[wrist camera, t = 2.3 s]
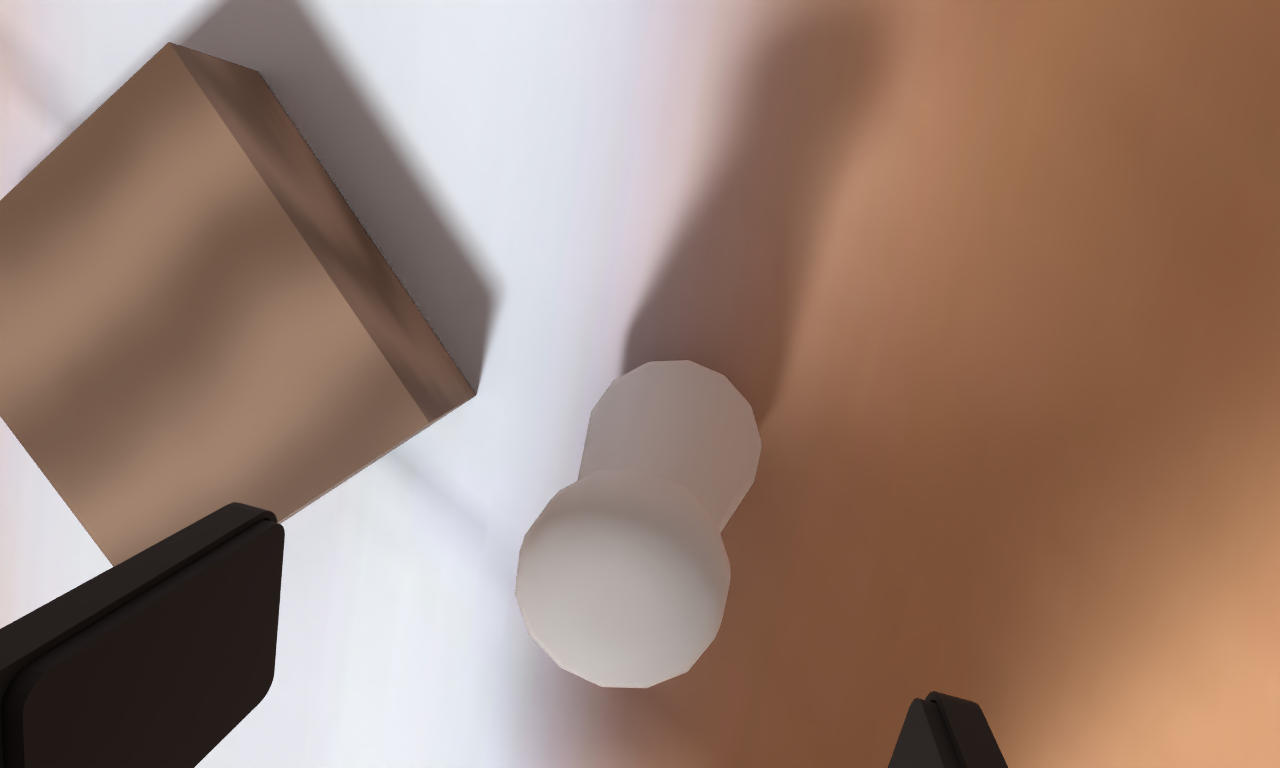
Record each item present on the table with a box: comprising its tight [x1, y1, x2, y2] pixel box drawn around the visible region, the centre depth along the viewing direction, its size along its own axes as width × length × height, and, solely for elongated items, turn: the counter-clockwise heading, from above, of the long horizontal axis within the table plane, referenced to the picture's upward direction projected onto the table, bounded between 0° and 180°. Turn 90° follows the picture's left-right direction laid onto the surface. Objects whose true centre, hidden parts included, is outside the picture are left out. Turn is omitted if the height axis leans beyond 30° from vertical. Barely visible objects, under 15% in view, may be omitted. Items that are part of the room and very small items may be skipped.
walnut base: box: [0, 42, 476, 567], centre depth 26 cm, size 14×14×4 cm
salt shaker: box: [515, 360, 762, 688], centre depth 19 cm, size 6×6×13 cm
